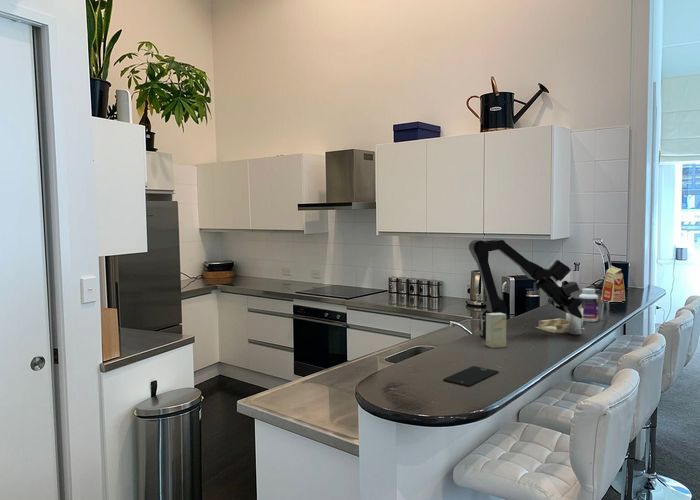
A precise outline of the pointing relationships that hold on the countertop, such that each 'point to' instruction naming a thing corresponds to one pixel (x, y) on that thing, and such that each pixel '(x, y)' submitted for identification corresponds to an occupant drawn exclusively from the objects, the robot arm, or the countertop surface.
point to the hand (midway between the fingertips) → (578, 316)
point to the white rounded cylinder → (568, 317)
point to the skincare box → (495, 330)
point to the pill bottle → (589, 305)
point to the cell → (575, 323)
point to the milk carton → (613, 286)
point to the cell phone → (470, 376)
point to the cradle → (555, 325)
